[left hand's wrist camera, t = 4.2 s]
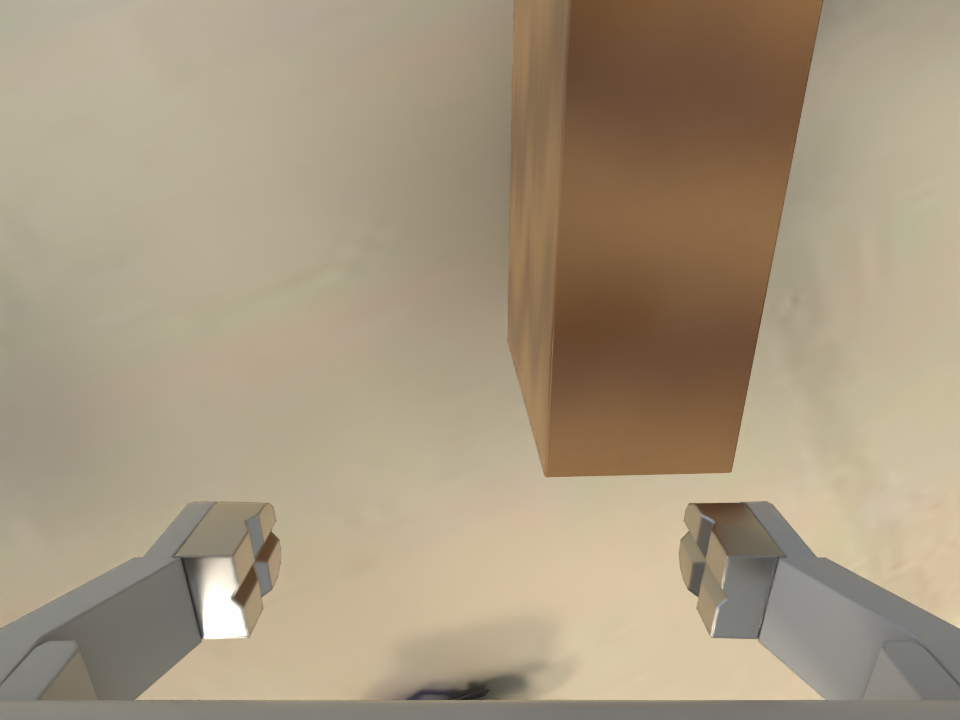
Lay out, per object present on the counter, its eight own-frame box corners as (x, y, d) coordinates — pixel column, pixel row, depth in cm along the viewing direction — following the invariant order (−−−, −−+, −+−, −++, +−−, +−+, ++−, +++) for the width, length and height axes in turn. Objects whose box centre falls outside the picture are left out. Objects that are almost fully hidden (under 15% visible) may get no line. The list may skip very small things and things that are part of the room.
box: (617, 340, 29) (732, 473, 17) (507, 341, 29) (544, 478, 17) (667, -174, 21) (940, -597, 9) (517, -177, 21) (598, -616, 9)
